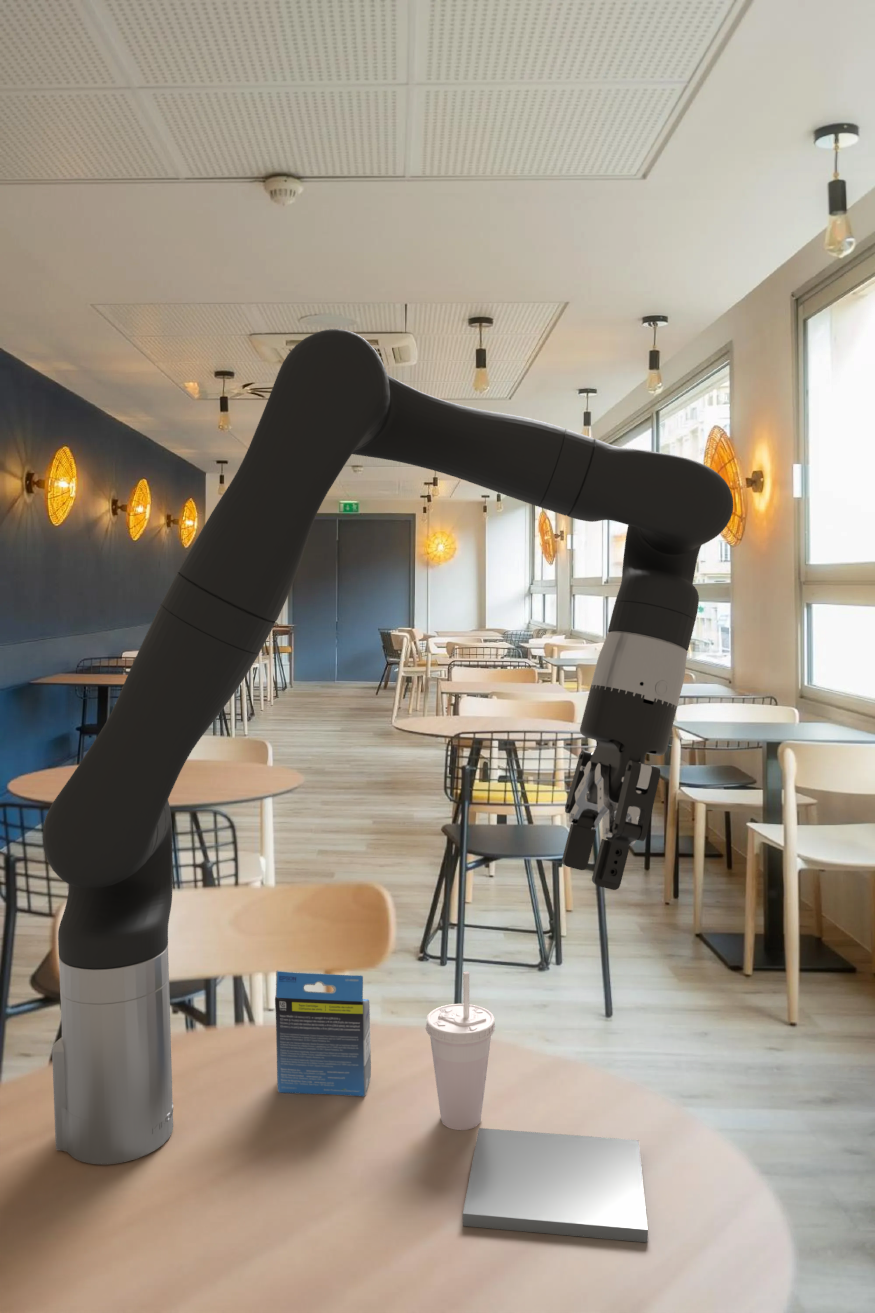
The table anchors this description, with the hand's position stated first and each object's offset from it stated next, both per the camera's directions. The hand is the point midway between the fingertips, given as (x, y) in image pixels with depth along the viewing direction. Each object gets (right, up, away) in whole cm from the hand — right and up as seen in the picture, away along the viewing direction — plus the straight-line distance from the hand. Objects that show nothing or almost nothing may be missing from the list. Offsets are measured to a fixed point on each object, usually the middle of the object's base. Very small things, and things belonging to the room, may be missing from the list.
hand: (588, 877), depth 84 cm
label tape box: (-24, -24, +14) cm, 36 cm away
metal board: (-3, -25, -3) cm, 25 cm away
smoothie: (-11, -24, +8) cm, 28 cm away
